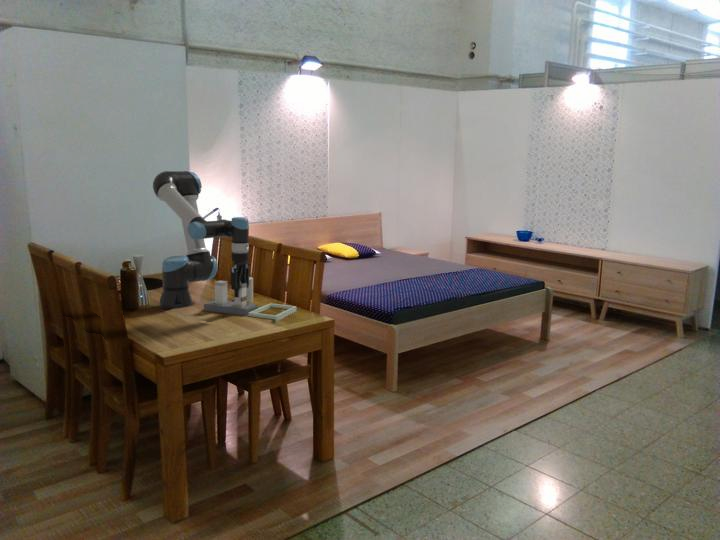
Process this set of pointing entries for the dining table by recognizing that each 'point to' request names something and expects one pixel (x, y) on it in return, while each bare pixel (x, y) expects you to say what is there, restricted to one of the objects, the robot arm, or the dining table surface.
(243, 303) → the fuse
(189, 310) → the dining table surface
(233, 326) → the dining table surface
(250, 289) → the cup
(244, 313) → the fuse holder
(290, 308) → the pale green rectangular frame
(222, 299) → the cylinder
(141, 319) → the dining table surface
